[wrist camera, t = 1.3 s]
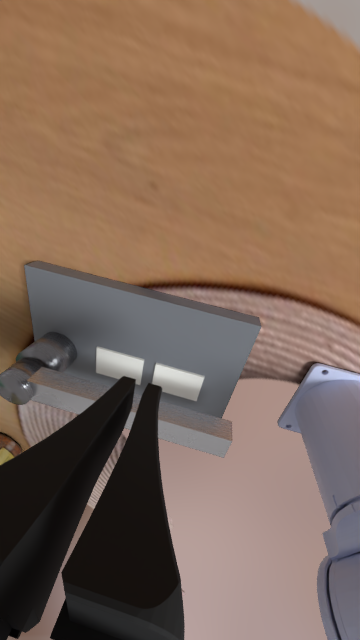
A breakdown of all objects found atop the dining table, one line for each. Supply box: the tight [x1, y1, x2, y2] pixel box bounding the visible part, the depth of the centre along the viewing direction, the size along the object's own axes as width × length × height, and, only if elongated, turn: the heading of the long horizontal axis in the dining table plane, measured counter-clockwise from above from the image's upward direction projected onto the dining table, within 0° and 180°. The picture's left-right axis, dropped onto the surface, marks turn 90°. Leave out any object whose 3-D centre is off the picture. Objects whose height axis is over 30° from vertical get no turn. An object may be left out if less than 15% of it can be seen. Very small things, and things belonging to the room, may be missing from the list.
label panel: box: [24, 261, 261, 418], centre depth 22 cm, size 19×15×2 cm
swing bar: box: [0, 357, 232, 458], centre depth 17 cm, size 18×3×2 cm, turn 79°
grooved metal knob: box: [16, 332, 77, 373], centre depth 21 cm, size 4×4×4 cm
